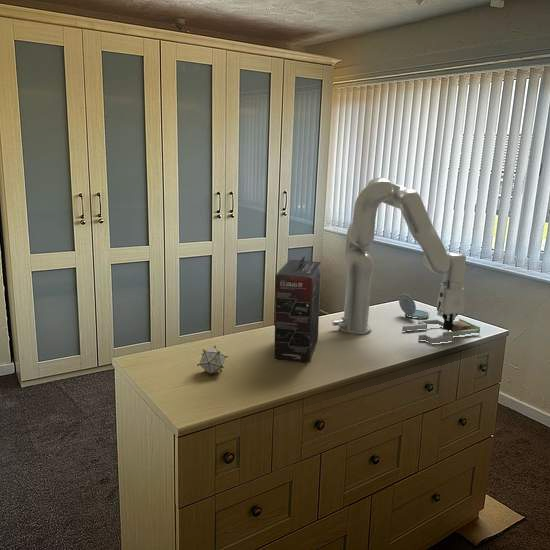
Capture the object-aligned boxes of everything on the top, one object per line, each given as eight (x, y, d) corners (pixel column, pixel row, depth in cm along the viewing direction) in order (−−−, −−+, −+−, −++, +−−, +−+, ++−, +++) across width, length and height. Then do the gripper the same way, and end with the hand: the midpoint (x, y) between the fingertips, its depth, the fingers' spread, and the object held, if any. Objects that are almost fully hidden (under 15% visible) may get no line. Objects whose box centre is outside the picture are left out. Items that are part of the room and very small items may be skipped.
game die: (211, 381, 161) (216, 350, 165) (229, 379, 156) (234, 347, 160) (189, 373, 156) (195, 342, 160) (207, 372, 150) (213, 339, 154)
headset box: (309, 364, 168) (314, 265, 160) (271, 360, 170) (275, 262, 163) (318, 339, 191) (323, 252, 184) (285, 336, 194) (288, 250, 186)
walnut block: (456, 336, 201) (458, 326, 200) (447, 331, 207) (448, 321, 206) (469, 335, 203) (471, 325, 202) (460, 330, 208) (461, 321, 207)
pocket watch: (397, 291, 223) (422, 288, 230) (395, 315, 225) (419, 311, 233) (414, 297, 214) (439, 293, 222) (412, 321, 217) (436, 317, 224)
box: (426, 345, 189) (427, 336, 188) (396, 328, 207) (396, 320, 206) (486, 339, 198) (488, 330, 198) (453, 323, 216) (454, 315, 216)
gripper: (442, 287, 193) (437, 334, 197) (474, 285, 198) (469, 330, 202) (430, 283, 200) (425, 327, 204) (461, 281, 205) (456, 325, 209)
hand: (447, 329), depth 203 cm, fingers closed
